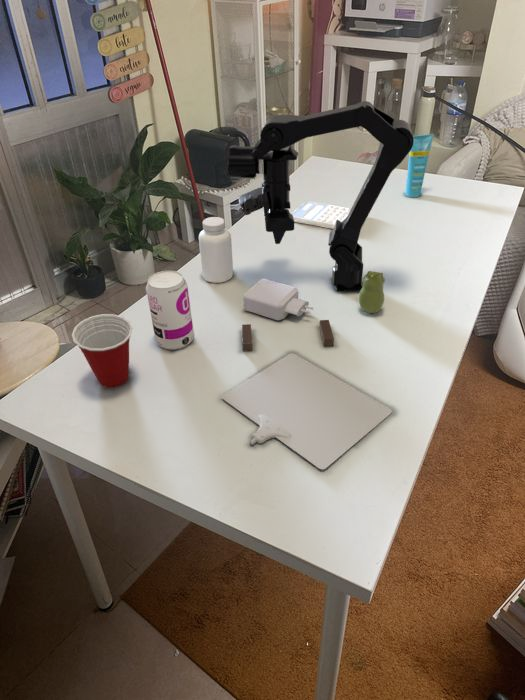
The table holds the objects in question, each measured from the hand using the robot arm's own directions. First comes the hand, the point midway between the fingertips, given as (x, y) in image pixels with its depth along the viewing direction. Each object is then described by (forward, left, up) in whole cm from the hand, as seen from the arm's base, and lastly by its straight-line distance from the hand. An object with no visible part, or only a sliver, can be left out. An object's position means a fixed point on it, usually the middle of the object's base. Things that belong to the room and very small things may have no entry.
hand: (277, 243), depth 126 cm
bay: (0, +24, -11) cm, 27 cm away
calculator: (-18, -37, -11) cm, 42 cm away
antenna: (0, +46, -11) cm, 48 cm away
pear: (-20, +15, -11) cm, 27 cm away
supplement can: (+24, +22, -11) cm, 35 cm away
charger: (0, +13, -11) cm, 17 cm away
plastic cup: (+35, +34, -11) cm, 50 cm away
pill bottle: (+15, -5, -11) cm, 19 cm away
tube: (-49, -52, -11) cm, 72 cm away
